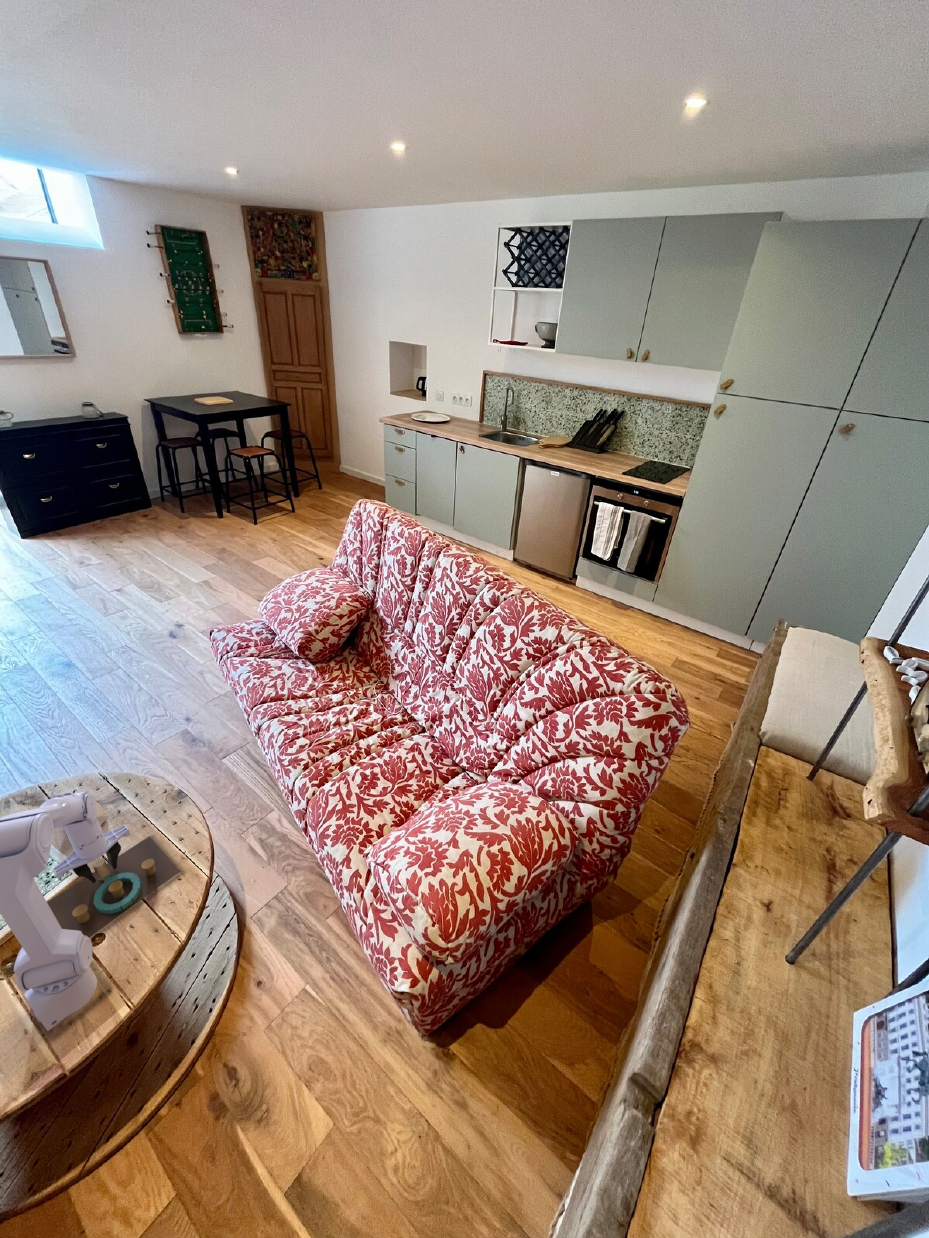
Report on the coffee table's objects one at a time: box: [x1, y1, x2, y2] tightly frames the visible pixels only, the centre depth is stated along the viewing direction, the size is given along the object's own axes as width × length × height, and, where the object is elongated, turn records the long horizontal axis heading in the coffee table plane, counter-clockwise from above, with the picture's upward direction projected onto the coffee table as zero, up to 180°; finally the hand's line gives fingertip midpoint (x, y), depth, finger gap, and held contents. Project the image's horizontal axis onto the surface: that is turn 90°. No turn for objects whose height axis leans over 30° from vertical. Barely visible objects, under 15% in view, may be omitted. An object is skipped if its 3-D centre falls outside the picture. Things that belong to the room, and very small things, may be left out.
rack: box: [46, 836, 181, 939], centre depth 115 cm, size 23×15×4 cm, turn 144°
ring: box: [91, 857, 142, 914], centre depth 114 cm, size 9×13×5 cm
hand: (103, 872), depth 117 cm, fingers open, 4 cm apart
